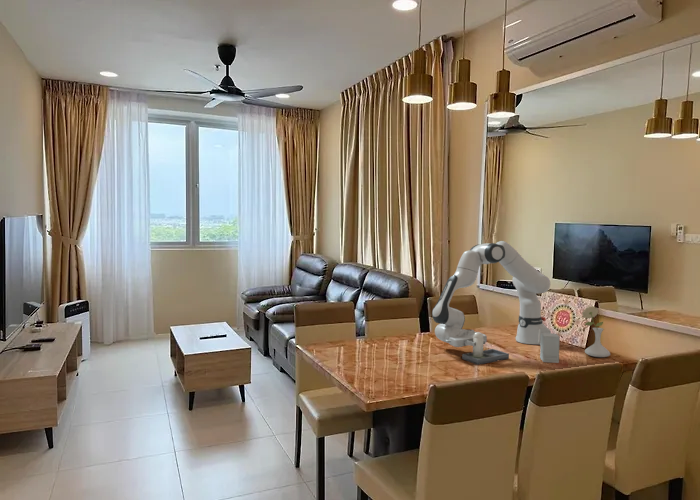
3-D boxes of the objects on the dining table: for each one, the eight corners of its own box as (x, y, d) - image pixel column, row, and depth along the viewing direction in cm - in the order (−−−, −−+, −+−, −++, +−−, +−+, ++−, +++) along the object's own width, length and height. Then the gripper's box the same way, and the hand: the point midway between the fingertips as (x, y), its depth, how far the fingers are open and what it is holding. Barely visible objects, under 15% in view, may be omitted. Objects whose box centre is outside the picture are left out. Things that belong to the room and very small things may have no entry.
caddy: (492, 353, 242) (492, 348, 242) (508, 358, 233) (508, 353, 233) (462, 359, 232) (462, 354, 232) (478, 364, 223) (478, 359, 223)
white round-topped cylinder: (478, 353, 233) (478, 330, 233) (485, 355, 229) (485, 332, 229) (470, 354, 231) (471, 331, 230) (478, 357, 227) (478, 333, 226)
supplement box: (559, 363, 226) (560, 336, 225) (542, 362, 227) (543, 336, 227) (555, 358, 233) (556, 333, 232) (539, 357, 235) (540, 332, 234)
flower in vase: (608, 354, 242) (609, 305, 240) (612, 360, 231) (613, 308, 230) (579, 351, 246) (580, 303, 245) (582, 357, 235) (583, 307, 234)
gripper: (443, 333, 236) (463, 339, 224) (474, 329, 246) (494, 334, 234) (443, 346, 236) (463, 352, 224) (474, 341, 246) (494, 347, 234)
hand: (479, 343), depth 229 cm, fingers closed on white round-topped cylinder, 5 cm apart
